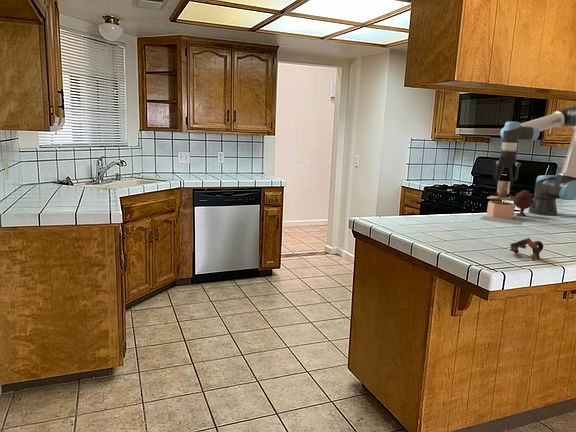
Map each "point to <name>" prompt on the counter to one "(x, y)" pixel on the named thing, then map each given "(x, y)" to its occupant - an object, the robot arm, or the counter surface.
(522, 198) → the ice cream bowl
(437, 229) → the counter surface
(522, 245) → the brown curved piece
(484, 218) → the mat
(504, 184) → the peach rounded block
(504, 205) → the pink squat block
